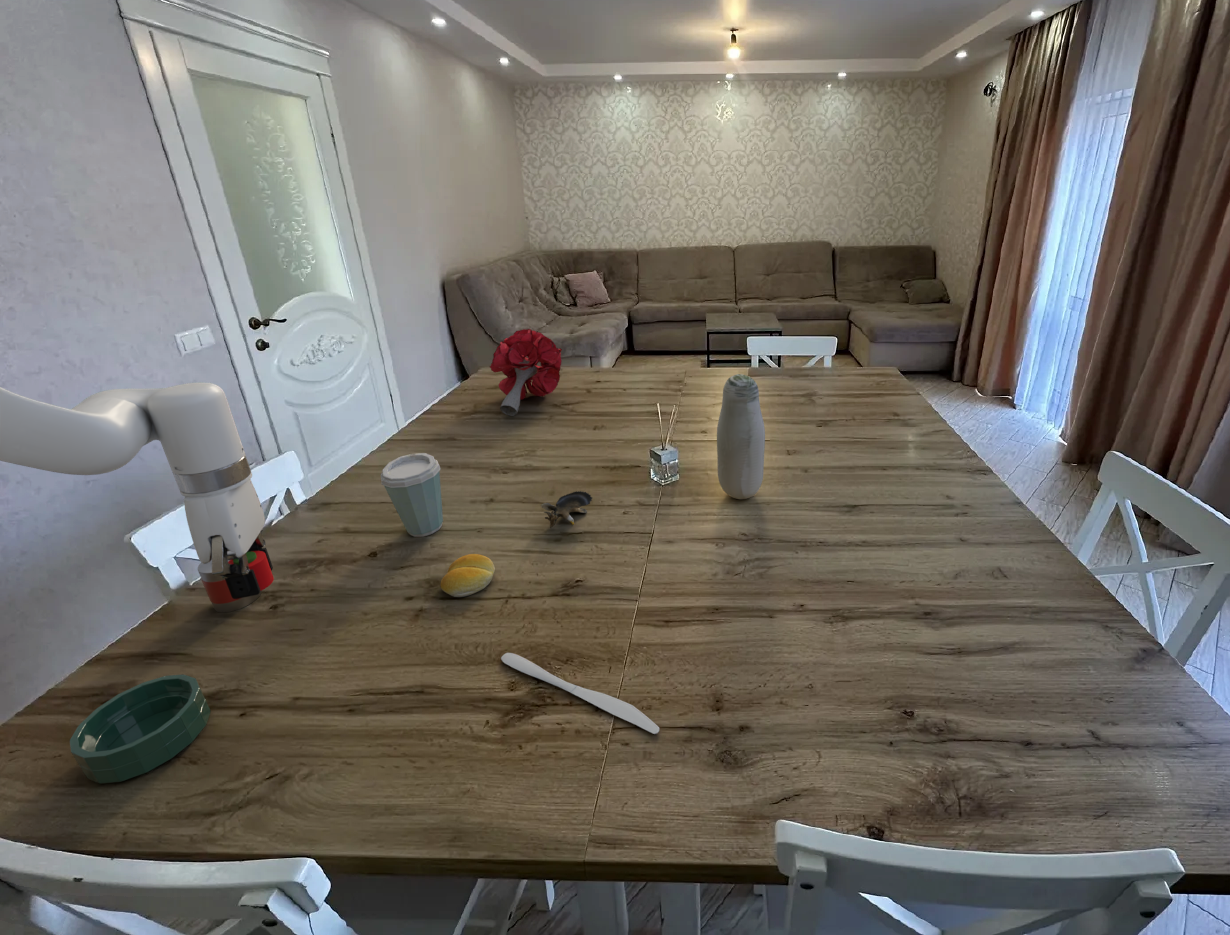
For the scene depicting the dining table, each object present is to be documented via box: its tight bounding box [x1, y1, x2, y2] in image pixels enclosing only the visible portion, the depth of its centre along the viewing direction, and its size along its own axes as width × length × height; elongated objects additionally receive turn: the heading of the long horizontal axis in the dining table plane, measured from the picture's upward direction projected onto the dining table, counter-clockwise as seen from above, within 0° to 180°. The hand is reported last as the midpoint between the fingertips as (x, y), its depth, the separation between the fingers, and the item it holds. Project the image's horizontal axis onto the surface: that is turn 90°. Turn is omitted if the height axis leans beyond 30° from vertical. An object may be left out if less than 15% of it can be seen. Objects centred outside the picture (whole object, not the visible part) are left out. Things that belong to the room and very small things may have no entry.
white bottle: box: [716, 373, 766, 500], centre depth 119 cm, size 10×10×28 cm
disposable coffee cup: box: [380, 452, 444, 538], centre depth 110 cm, size 11×11×15 cm
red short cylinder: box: [228, 551, 275, 592], centre depth 80 cm, size 5×5×5 cm
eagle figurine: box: [540, 490, 593, 528], centre depth 114 cm, size 8×7×9 cm
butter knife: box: [500, 652, 660, 735], centre depth 76 cm, size 1×27×3 cm
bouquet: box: [489, 328, 563, 416], centre depth 176 cm, size 22×24×30 cm
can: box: [197, 551, 263, 613], centre depth 93 cm, size 6×6×8 cm
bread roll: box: [440, 553, 496, 598], centre depth 97 cm, size 8×9×4 cm
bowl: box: [69, 673, 212, 785], centre depth 69 cm, size 11×11×5 cm
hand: (253, 582), depth 81 cm, fingers closed on red short cylinder, 4 cm apart
